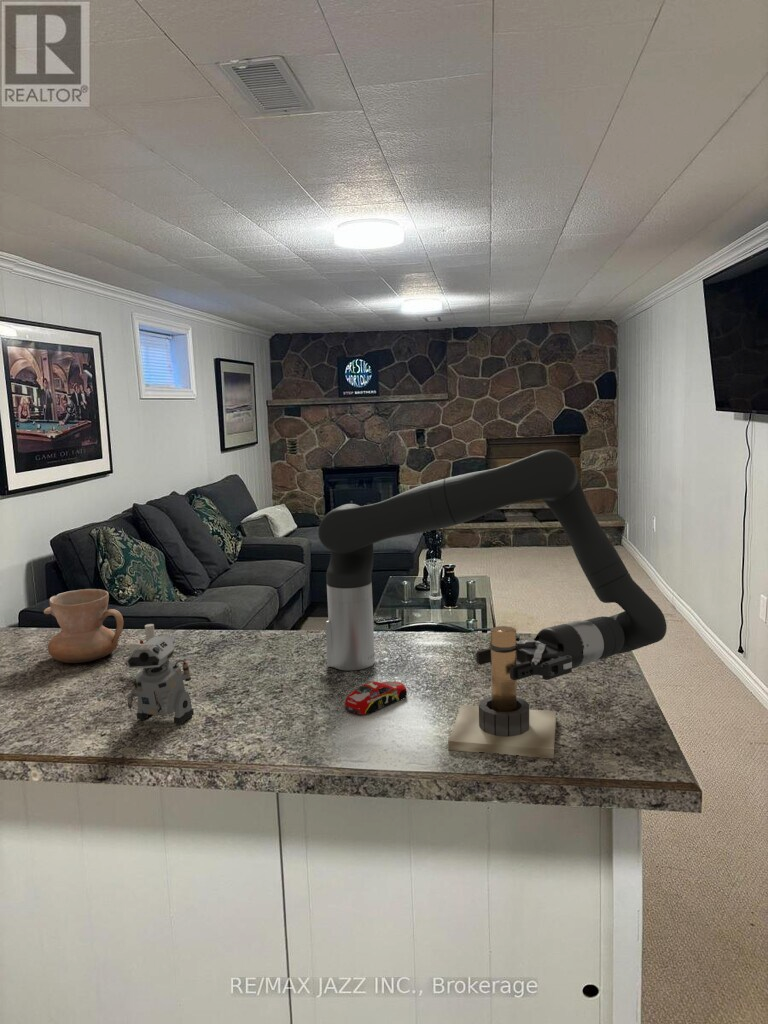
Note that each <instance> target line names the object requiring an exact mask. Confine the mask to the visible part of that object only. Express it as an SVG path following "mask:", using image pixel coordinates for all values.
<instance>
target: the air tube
mask: <svg viewBox="0 0 768 1024" xmlns="http://www.w3.org/2000/svg"><path fill="white" fill-rule="evenodd" d="M516 636H517V629H516V628H515V627H511V626H507V625H504V626H503V625H501V626H495V627H492V628H490V641H491V642H490V641H489V648H490V649H491V662H490V680H491V681H490V683H491V686H490V687H491V688H490V690H491V691H490V692H491V694H490V695H491V701H492V710H494V711H497V712H512V711H516V710H517V697H518V695H517V693H518V692H517V685H518V684H517V681H518V680H512V679H511V678H510V667H511V666H512V665H516V664H517V663H516V658H517V657H516V649H517V642H516Z"/></svg>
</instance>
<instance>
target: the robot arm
mask: <svg viewBox="0 0 768 1024" xmlns="http://www.w3.org/2000/svg"><path fill="white" fill-rule="evenodd" d="M586 498H587V497H586V496H585V493H584V490H583V487H582V484H581V481H580V479H579V473H578V468H577V466H576V464H575V462H574V460H573V459H572V458H571V457H570V455H568V454H567V453H565V452H563V451H562V450H558V449H544V450H541V451H539V452H536V453H534V454H531V455H528V456H527V457H523V458H521V459H518V460H515V461H513V462H510V463H508V464H504V465H501V466H499V467H495V468H491V469H486V470H485V469H484V470H480V471H473V472H468V473H464V474H463V473H462V474H459V475H455V476H449V477H446V478H442V479H438V480H435V481H430V482H428V483H424V484H421V485H419V486H416V487H412V488H410V489H408V490H406V491H403V492H401V493H399V494H397V495H395V496H392V497H390V498H388V499H385V500H383V501H379V502H375V503H372V504H367V505H366V504H365V505H359V504H356V503H345V504H342V505H340V506H338V507H335V508H333V509H331V510H330V511H329V512H327V513H326V514H325V515H324V516H323V518H322V519H321V521H320V523H319V525H318V531H317V534H318V538H319V541H320V544H322V545H323V547H324V548H325V549H327V550H329V551H330V559H329V564H328V567H327V569H326V574H325V575H326V595H327V596H326V597H327V615H328V618H327V620H326V621H325V622H324V623H325V624H324V625H325V641H326V645H325V646H326V647H325V648H326V664H327V666H326V667H328V668H334V669H337V670H341V671H359V670H360V671H361V670H364V669H365V670H366V669H368V668H370V667H372V666H373V665H374V664H375V661H376V659H375V636H374V634H375V633H374V611H373V609H374V607H373V586H372V574H373V573H372V572H373V568H374V544H375V543H377V542H378V543H379V542H380V541H384V540H388V539H391V538H397V537H403V536H409V535H410V536H411V535H416V534H420V533H421V534H422V533H426V532H431V531H435V530H441V529H444V528H449V527H453V526H457V525H461V524H464V523H467V522H469V521H472V520H475V519H477V518H480V517H482V516H485V515H487V514H489V513H491V512H493V511H495V510H498V509H500V508H503V507H505V506H510V505H514V504H520V503H525V502H530V501H532V502H533V501H539V500H542V501H543V502H544V504H546V506H547V507H548V508H549V510H550V511H551V513H553V515H554V516H555V518H556V519H557V520H558V522H559V523H560V526H561V527H562V529H563V531H564V533H565V535H566V537H567V539H568V541H569V543H570V545H571V548H572V551H573V552H574V555H575V557H576V559H577V561H578V563H579V565H580V568H581V571H583V573H584V575H585V577H586V579H587V581H588V582H589V584H590V587H591V588H592V590H593V592H594V593H595V595H596V597H597V598H598V600H599V601H600V602H602V603H604V604H610V603H615V604H616V605H619V607H620V608H621V609H622V610H623V611H621V612H619V613H616V614H613V615H610V616H596V617H592V618H589V619H584V620H575V621H569V622H566V623H562V624H558V625H553V626H549V627H546V628H542V629H540V630H539V632H538V633H537V634H536V636H535V638H534V639H525V640H520V636H519V635H516V642H517V649H516V665H512V666H511V667H510V678H511V679H512V680H517V681H518V680H522V679H526V678H529V677H533V678H539V677H540V676H541V677H542V680H545V681H548V680H552V679H555V678H558V677H561V676H564V675H567V674H570V673H572V672H573V669H575V668H580V667H584V666H586V665H589V664H591V663H592V662H595V661H598V660H602V659H605V658H608V657H612V656H614V655H618V654H624V653H627V652H633V651H636V650H638V649H642V648H644V647H647V646H650V645H653V644H656V643H658V642H660V641H661V640H664V637H665V636H666V634H667V629H668V627H667V626H668V625H667V622H666V618H665V615H664V613H663V611H662V610H661V608H660V607H659V606H658V605H657V604H656V602H655V601H654V600H653V599H652V598H651V597H650V596H649V595H648V594H647V593H646V592H645V590H643V588H641V587H640V586H639V584H638V583H637V582H635V580H634V579H633V578H632V576H631V574H630V573H629V570H628V569H627V567H626V565H625V563H624V561H623V560H622V557H621V556H620V554H619V552H618V551H617V550H616V548H615V546H614V544H613V543H612V542H611V540H610V538H609V537H608V535H607V533H605V531H604V530H603V528H602V526H601V525H600V523H599V520H598V519H597V518H596V516H595V514H594V513H593V511H592V509H591V507H590V504H589V502H588V500H587V499H586ZM490 642H491V640H489V643H490ZM475 660H476V664H478V665H479V666H481V665H485V664H489V663H490V664H491V649H490V647H488V648H483V649H480V650H479V649H478V650H477V651H476V653H475Z"/></svg>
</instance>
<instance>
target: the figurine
mask: <svg viewBox="0 0 768 1024" xmlns="http://www.w3.org/2000/svg"><path fill="white" fill-rule="evenodd" d="M175 641H176V640H175V639H174V638H173V637H171V636H170V635H169V634H167V635H166V634H165V635H155V636H154V637H153V638H151V639H150V640H148V641H146V640H145V641H144V640H143V639H141V640H139V643H140V644H142V645H141V646H139V647H138V648H136V649H135V650H134V651H132V652H133V653H132V652H131V653H132V654H130V655H129V656H128V658H127V659H126V660H125V662H124V663H125V666H127V667H128V669H142V670H140V671H139V672H138V673H137V674H135V676H134V678H133V679H132V681H133V686H134V687H133V688H132V689H131V692H130V693H129V694H127V695H126V699H127V707H128V709H129V710H130V713H132V712H133V711H132V708H133V707H134V706H133V702H134V697H137V712H136V719H137V720H139V721H140V720H141V721H145V719H148V718H149V716H152V715H153V716H154V715H155V716H167V715H169V714H171V713H174V717H173V724H175V725H177V726H182V725H183V724H185V723H186V721H189V720H190V719H192V718H193V716H194V715H195V712H194V709H193V707H192V699H191V696H190V694H189V693H188V692H187V691H186V689H185V684H184V681H186V682H189V681H191V680H192V677H191V675H190V674H191V673H190V667H189V664H188V662H186V661H184V660H182V659H181V660H178V661H176V662H171V661H170V659H171V658H172V657H173V655H174V652H175V646H174V644H175ZM180 662H182V664H181V665H182V668H181V666H180V664H179V663H180ZM182 670H183V671H182Z"/></svg>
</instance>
